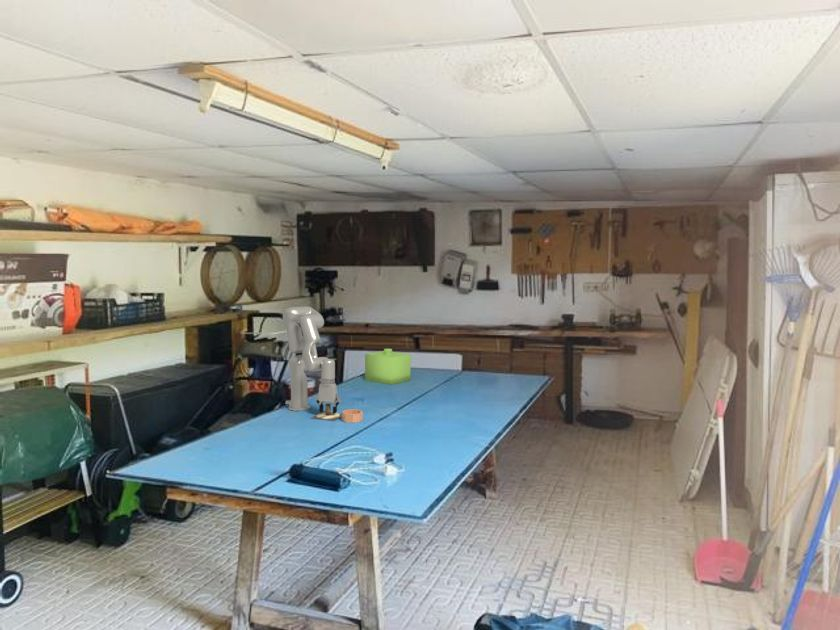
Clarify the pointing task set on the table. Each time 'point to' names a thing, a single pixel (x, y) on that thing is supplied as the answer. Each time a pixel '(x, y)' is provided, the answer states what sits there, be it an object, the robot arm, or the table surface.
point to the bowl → (352, 415)
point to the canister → (387, 367)
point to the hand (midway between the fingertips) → (328, 412)
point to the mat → (328, 419)
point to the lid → (328, 414)
